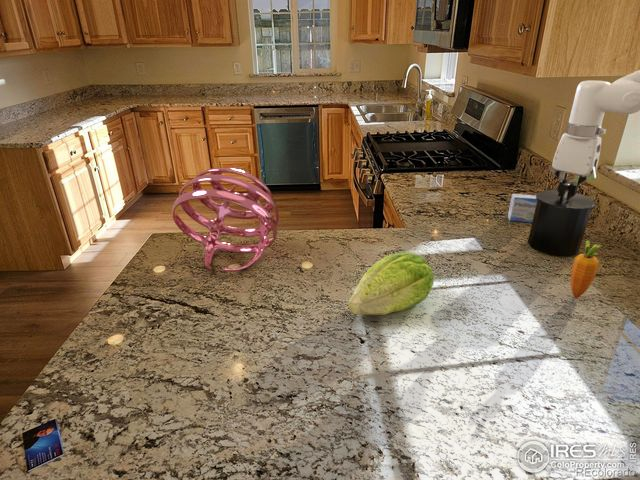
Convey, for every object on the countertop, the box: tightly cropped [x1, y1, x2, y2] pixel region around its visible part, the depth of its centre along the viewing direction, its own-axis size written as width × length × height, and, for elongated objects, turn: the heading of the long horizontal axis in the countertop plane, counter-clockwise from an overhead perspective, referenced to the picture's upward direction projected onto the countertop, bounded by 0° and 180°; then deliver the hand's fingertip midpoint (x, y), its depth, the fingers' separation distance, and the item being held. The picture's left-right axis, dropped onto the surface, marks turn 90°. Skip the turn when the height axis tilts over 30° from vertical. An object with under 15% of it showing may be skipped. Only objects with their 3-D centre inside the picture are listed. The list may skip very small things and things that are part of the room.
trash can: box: [527, 200, 592, 258], centre depth 124 cm, size 14×14×14 cm
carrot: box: [570, 240, 602, 299], centre depth 99 cm, size 5×5×15 cm
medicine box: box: [507, 193, 537, 224], centre depth 143 cm, size 8×4×9 cm, turn 76°
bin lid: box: [535, 179, 596, 210], centre depth 120 cm, size 15×15×6 cm
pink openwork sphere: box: [171, 167, 280, 273], centre depth 114 cm, size 28×28×27 cm
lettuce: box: [347, 252, 435, 316], centre depth 97 cm, size 13×22×14 cm
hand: (565, 195), depth 120 cm, fingers closed
